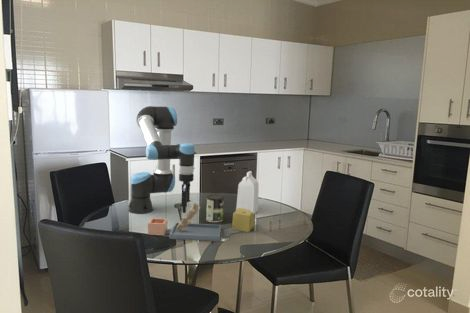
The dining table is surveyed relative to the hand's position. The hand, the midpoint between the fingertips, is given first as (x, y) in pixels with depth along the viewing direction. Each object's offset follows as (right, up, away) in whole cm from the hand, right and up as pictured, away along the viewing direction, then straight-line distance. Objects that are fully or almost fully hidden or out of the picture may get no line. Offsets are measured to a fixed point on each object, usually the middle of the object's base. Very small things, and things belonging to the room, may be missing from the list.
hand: (185, 215), depth 202 cm
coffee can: (+14, -6, +26) cm, 30 cm away
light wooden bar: (-1, -9, +1) cm, 9 cm away
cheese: (+31, -9, +13) cm, 35 cm away
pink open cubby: (-15, -9, +2) cm, 17 cm away
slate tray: (+6, -10, +1) cm, 11 cm away
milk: (+34, -4, +46) cm, 57 cm away
